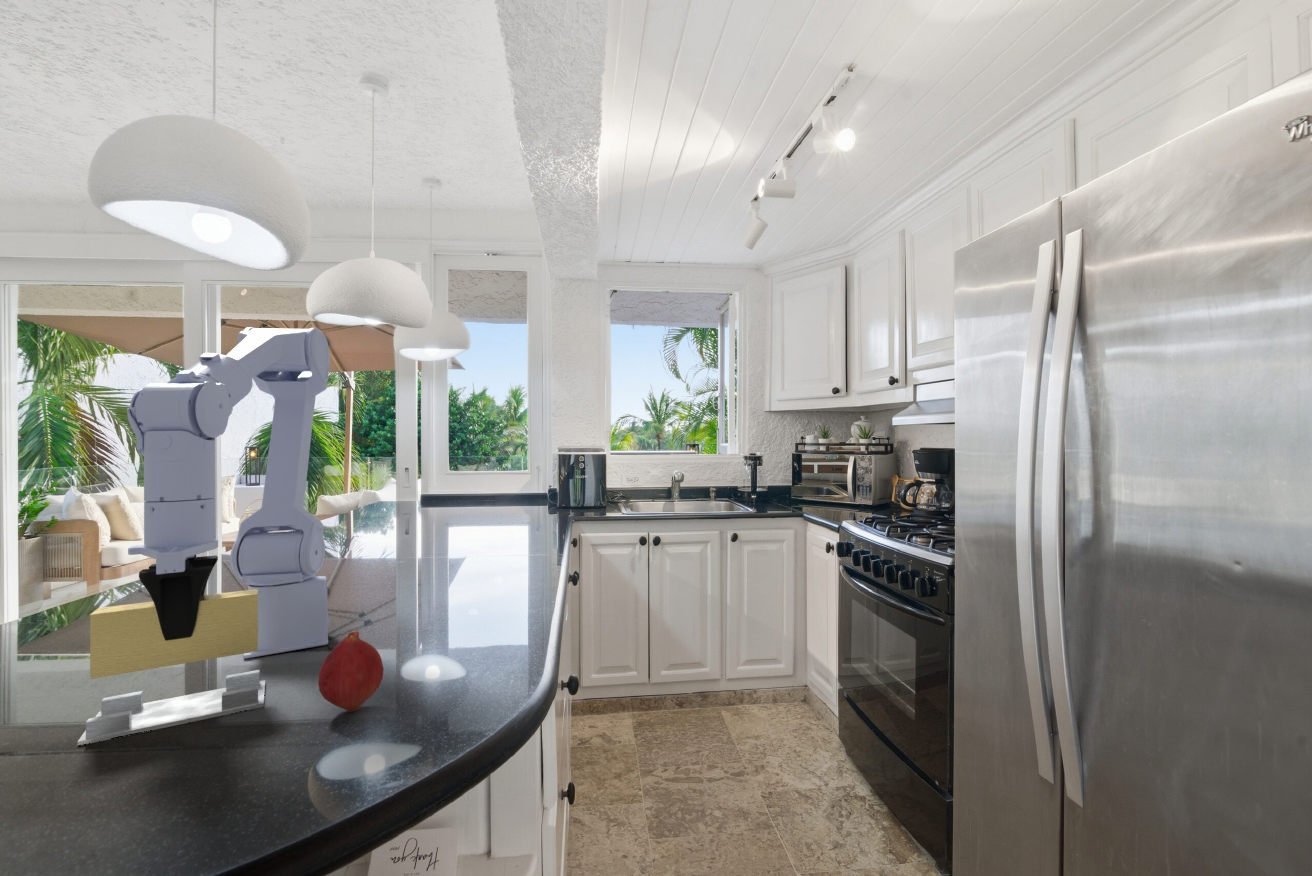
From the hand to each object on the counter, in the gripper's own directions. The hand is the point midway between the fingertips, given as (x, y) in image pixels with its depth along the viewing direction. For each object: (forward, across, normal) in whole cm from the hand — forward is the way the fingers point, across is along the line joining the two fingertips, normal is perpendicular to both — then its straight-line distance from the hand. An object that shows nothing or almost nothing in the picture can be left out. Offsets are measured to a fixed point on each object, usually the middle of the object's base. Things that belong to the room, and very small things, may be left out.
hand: (181, 633), depth 60 cm
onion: (+8, +10, +14) cm, 19 cm away
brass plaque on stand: (+3, 0, 0) cm, 3 cm away
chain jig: (+8, 0, 0) cm, 8 cm away
